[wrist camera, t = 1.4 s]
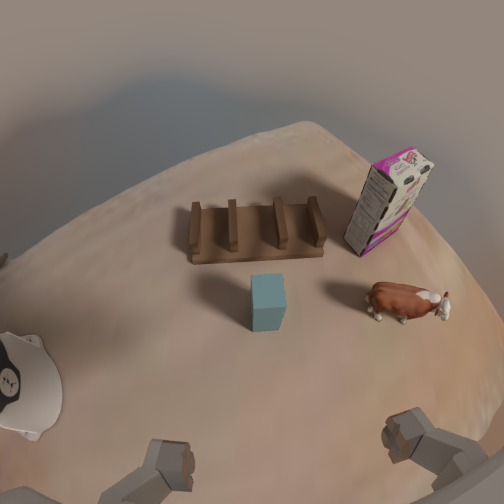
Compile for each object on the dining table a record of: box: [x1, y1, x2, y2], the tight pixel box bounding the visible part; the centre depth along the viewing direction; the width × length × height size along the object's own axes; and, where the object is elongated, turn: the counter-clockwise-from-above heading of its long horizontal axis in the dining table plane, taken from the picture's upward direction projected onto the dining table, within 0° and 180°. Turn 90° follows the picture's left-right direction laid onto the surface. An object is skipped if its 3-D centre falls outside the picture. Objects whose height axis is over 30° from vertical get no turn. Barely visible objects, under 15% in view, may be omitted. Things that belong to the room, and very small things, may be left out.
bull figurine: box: [365, 282, 450, 324], centre depth 34 cm, size 4×13×8 cm, turn 70°
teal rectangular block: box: [251, 273, 287, 332], centre depth 33 cm, size 4×4×9 cm
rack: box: [189, 196, 327, 265], centre depth 43 cm, size 20×10×4 cm, turn 94°
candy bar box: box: [343, 147, 434, 257], centre depth 38 cm, size 11×5×16 cm, turn 123°
